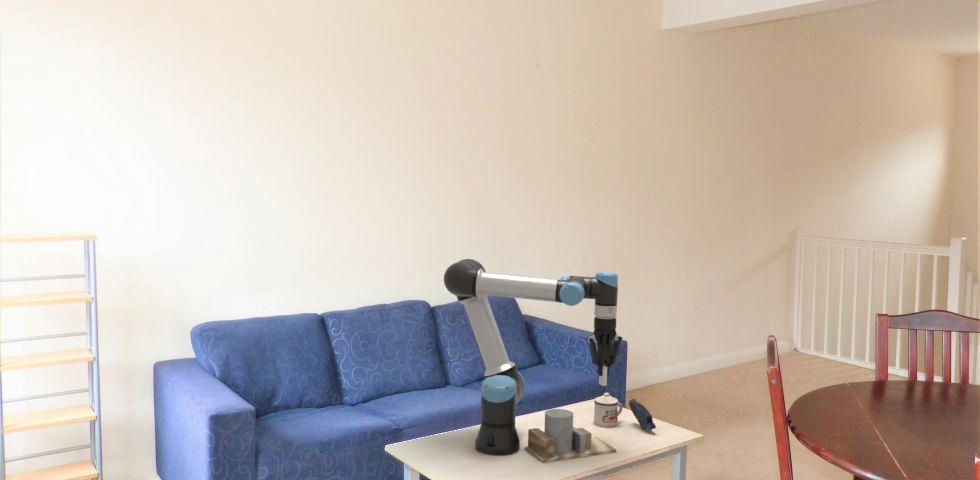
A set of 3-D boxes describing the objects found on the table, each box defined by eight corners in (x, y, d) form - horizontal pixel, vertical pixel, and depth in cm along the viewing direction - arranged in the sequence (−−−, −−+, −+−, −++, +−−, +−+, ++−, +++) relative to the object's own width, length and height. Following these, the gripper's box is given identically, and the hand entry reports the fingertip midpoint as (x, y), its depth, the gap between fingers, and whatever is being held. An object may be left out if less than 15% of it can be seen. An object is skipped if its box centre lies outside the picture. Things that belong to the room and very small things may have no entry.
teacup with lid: (603, 428, 284) (604, 397, 283) (588, 421, 292) (589, 391, 291) (629, 424, 290) (630, 394, 289) (613, 417, 298) (615, 387, 297)
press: (542, 462, 249) (542, 441, 249) (524, 449, 261) (525, 429, 261) (616, 452, 260) (617, 431, 260) (596, 439, 272) (597, 420, 272)
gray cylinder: (572, 445, 263) (573, 409, 262) (572, 455, 254) (573, 418, 253) (544, 443, 264) (545, 408, 263) (543, 453, 255) (544, 416, 254)
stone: (662, 432, 281) (663, 405, 281) (651, 435, 278) (652, 408, 277) (632, 422, 292) (633, 396, 291) (621, 425, 288) (622, 399, 288)
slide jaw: (579, 452, 255) (580, 435, 255) (562, 441, 266) (562, 424, 266) (595, 450, 258) (596, 433, 257) (577, 439, 269) (578, 422, 268)
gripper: (594, 319, 258) (591, 389, 260) (627, 318, 263) (624, 386, 265) (583, 315, 265) (580, 383, 267) (616, 314, 270) (613, 380, 272)
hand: (602, 384), depth 266 cm, fingers closed
